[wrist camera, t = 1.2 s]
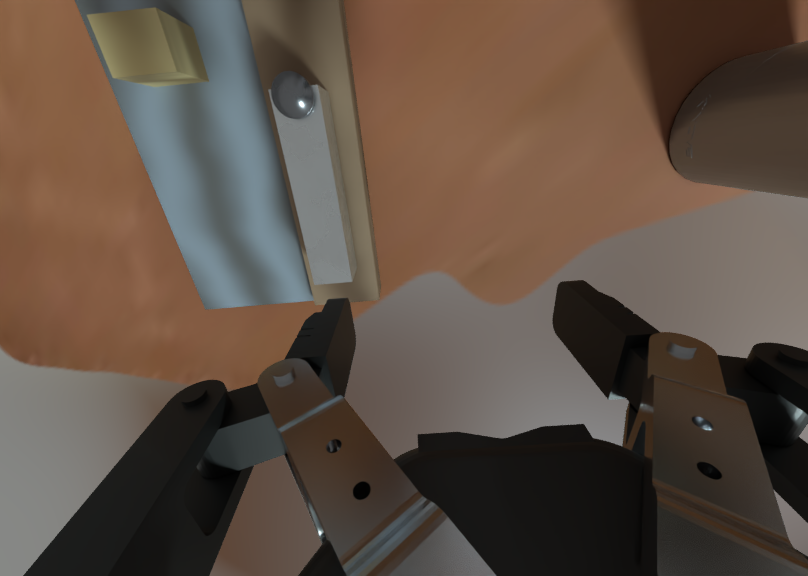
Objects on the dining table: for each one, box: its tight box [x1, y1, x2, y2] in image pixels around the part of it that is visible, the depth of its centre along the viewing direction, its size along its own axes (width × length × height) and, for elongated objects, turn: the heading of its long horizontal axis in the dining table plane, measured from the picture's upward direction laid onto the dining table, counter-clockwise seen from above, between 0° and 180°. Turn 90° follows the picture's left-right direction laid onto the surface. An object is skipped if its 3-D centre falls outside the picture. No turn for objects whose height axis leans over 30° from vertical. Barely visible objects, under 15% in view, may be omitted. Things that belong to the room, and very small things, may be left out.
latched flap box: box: [75, 0, 381, 310], centre depth 24 cm, size 17×24×6 cm
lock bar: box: [268, 71, 357, 285], centre depth 22 cm, size 14×3×4 cm, turn 5°
